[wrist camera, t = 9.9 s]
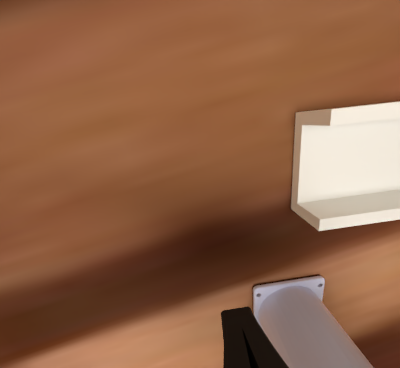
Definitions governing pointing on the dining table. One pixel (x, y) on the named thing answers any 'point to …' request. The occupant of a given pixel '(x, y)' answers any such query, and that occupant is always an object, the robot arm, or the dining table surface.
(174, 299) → the dining table surface
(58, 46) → the dining table surface
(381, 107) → the chute
